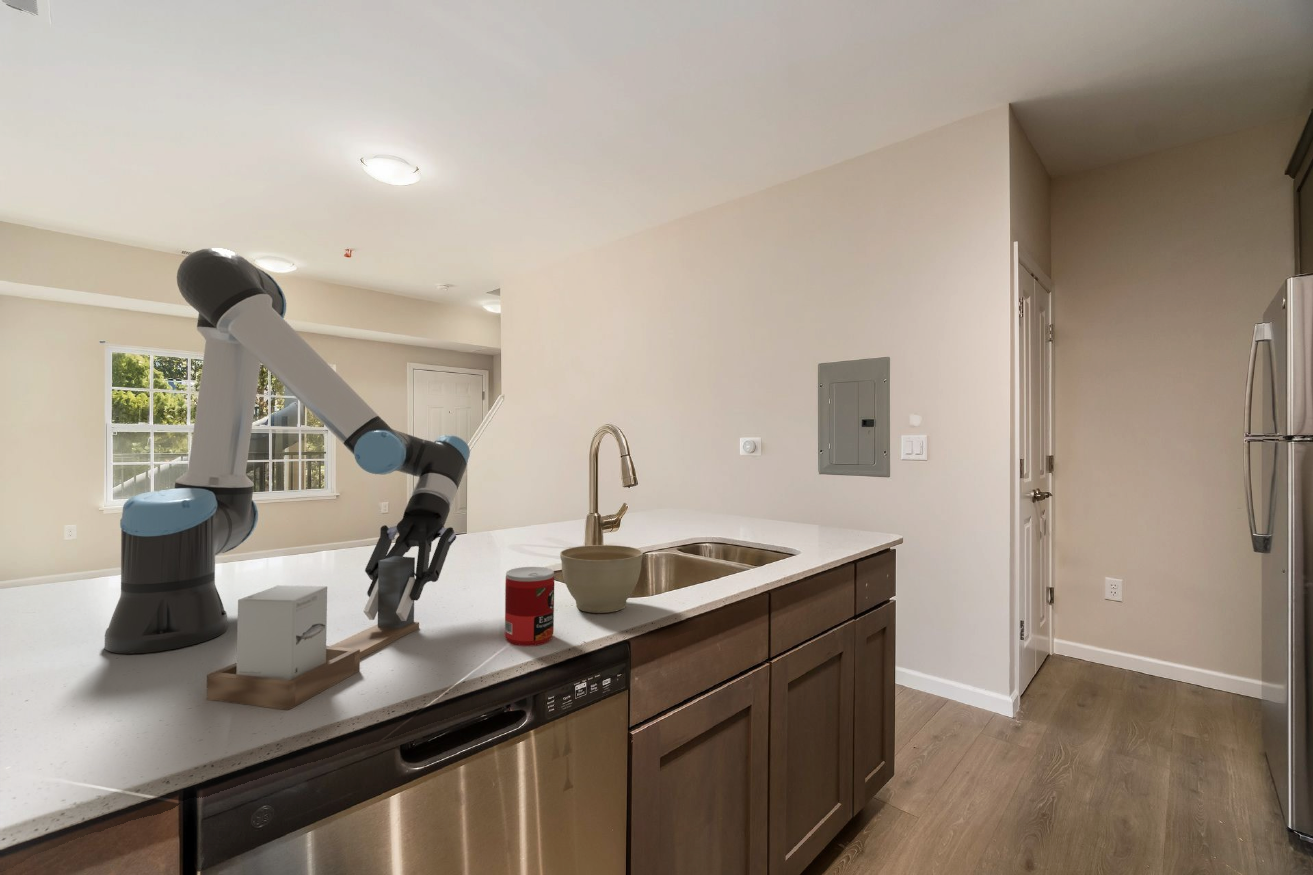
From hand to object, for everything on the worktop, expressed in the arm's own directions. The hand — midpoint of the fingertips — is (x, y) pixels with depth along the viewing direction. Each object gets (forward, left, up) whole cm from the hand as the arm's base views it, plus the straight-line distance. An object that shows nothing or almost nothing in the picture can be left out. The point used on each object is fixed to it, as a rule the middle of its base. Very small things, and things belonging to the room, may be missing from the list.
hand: (385, 615), depth 94 cm
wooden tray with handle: (-1, -9, -4) cm, 10 cm away
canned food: (+22, +6, -4) cm, 24 cm away
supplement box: (-1, -19, -4) cm, 20 cm away
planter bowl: (+28, +26, -4) cm, 39 cm away
